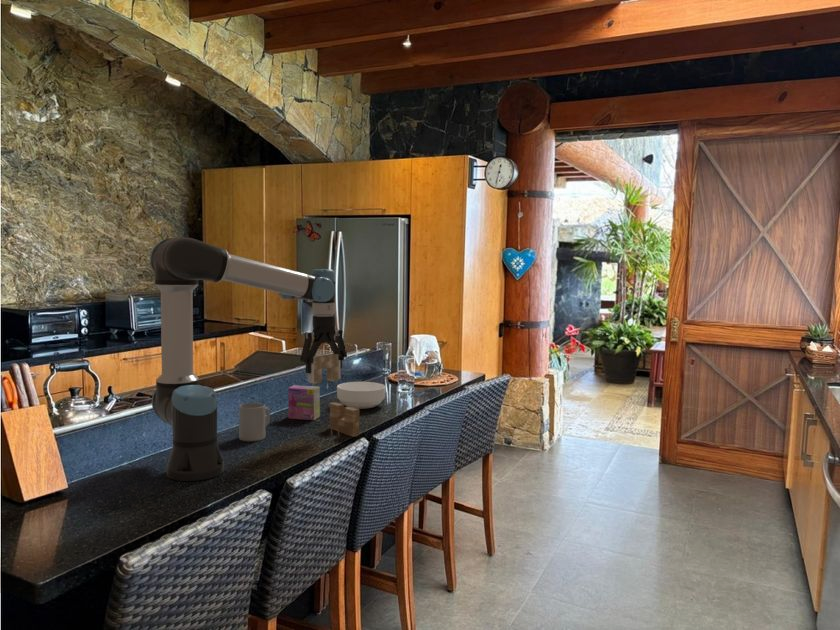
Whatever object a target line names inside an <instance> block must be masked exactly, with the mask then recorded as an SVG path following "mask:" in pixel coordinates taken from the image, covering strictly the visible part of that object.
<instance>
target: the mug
mask: <svg viewBox="0 0 840 630" xmlns="http://www.w3.org/2000/svg"><path fill="white" fill-rule="evenodd" d="M270 420H271V412H270V409H269V407H268V406H266V404H265V403H261V402H246V403H245V402H244V403H241V404H239V406H238V438H239V440H240V441H243V442H259V441H263V440H264V439H266V427H267V426H268V425H269V424H270Z"/></svg>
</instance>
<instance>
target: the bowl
mask: <svg viewBox="0 0 840 630" xmlns="http://www.w3.org/2000/svg"><path fill="white" fill-rule="evenodd" d="M336 398H337V399H338V400H339V403H340V404H343V405H344V407H345V406H346V407H353V408H356V409H359V410H361V409H371V408H375V407H377V406H378V405H379V404H381V403H382V402H383V400H385V398H386V385H385V384H383V383H380V382H373V381H348V382H343V383H339V384H337V386H336Z"/></svg>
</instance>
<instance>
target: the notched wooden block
mask: <svg viewBox="0 0 840 630" xmlns="http://www.w3.org/2000/svg"><path fill="white" fill-rule="evenodd" d="M329 429H331V430H334V431H336V432H338V433H342V434H345V435H347V436H350V437H358V436H360V409H358V408H353V407H347V406H346V407H345V405H344V404H342V403H341V402H336V401H334V402H330V403H329Z"/></svg>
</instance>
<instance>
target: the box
mask: <svg viewBox="0 0 840 630" xmlns="http://www.w3.org/2000/svg"><path fill="white" fill-rule="evenodd" d="M287 392H288V393H287V395H288V399H287V400H288V403H287V404H288V405H287V406H288V419H290V420H291V419H293V420H307V421H308V420H309V421H316V420H318V418H320V417H321V415H320V414H321V413H320V412H321V400H320V398H321V393H320V392H321V387H320V386H314V385H313V386H312V385H299V384H297V385H296V384H293V385H291V386H289V387H288V391H287Z"/></svg>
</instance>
